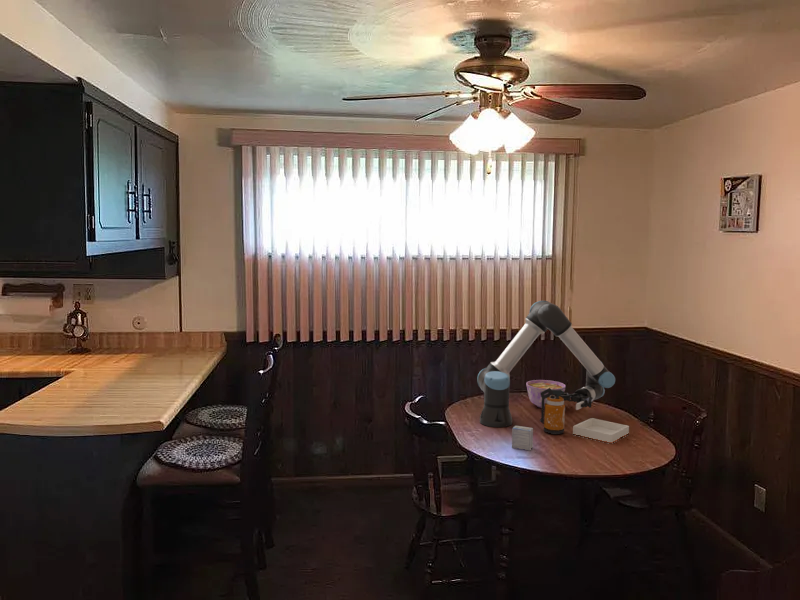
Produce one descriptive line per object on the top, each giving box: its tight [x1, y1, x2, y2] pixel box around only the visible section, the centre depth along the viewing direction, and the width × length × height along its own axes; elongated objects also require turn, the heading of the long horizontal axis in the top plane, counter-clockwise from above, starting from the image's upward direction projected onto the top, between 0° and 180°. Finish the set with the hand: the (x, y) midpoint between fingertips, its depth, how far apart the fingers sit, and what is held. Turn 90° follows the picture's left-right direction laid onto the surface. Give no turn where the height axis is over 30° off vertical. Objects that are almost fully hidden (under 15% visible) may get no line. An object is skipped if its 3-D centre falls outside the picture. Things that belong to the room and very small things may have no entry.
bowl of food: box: [526, 379, 566, 409], centre depth 341 cm, size 20×20×12 cm
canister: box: [539, 388, 566, 435], centre depth 298 cm, size 9×11×20 cm
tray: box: [572, 417, 630, 442], centre depth 296 cm, size 18×18×4 cm
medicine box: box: [511, 425, 534, 451], centre depth 277 cm, size 8×4×9 cm, turn 65°
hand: (562, 404), depth 305 cm, fingers open, 13 cm apart
